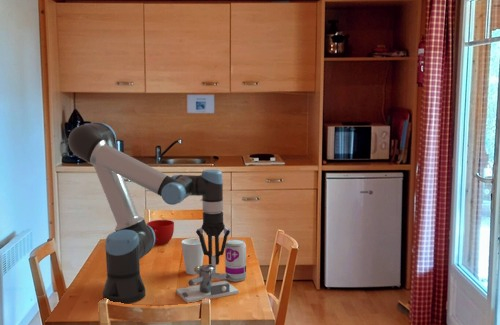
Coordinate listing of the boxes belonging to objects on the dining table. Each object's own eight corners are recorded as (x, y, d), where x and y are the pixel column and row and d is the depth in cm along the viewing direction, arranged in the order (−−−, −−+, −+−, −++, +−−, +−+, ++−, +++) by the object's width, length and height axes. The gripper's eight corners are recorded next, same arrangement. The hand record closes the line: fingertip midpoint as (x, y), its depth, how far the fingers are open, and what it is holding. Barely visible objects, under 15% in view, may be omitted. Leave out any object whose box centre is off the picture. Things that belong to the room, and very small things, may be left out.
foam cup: (201, 276, 227) (200, 245, 225) (179, 275, 229) (178, 244, 227) (207, 268, 236) (207, 238, 234) (186, 267, 238) (185, 237, 236)
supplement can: (239, 283, 219) (238, 245, 217) (221, 279, 223) (220, 242, 221) (250, 277, 226) (249, 240, 223) (232, 273, 230) (232, 237, 228)
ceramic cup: (140, 248, 265) (139, 228, 263) (152, 239, 281) (152, 219, 280) (167, 250, 263) (166, 229, 261) (177, 240, 279) (177, 220, 278)
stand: (188, 304, 199) (187, 292, 198) (175, 292, 210) (175, 281, 210) (239, 294, 208) (239, 283, 207) (225, 283, 219) (225, 272, 218)
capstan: (189, 299, 200) (189, 275, 198) (176, 285, 212) (175, 263, 211) (231, 291, 207) (231, 267, 206) (215, 278, 220) (215, 257, 218)
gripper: (231, 209, 213) (232, 269, 217) (197, 209, 214) (198, 269, 218) (229, 213, 206) (230, 276, 209) (193, 213, 207) (195, 275, 210)
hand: (214, 272), depth 214 cm, fingers closed
